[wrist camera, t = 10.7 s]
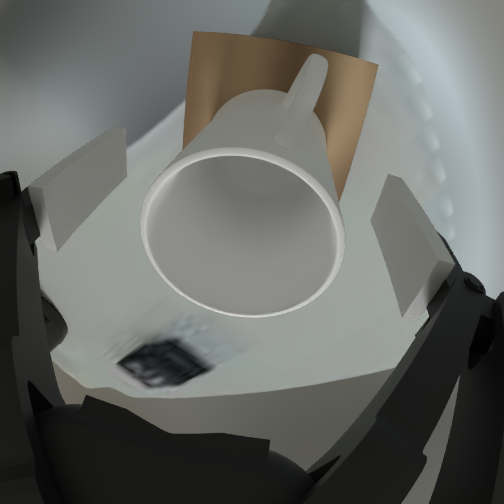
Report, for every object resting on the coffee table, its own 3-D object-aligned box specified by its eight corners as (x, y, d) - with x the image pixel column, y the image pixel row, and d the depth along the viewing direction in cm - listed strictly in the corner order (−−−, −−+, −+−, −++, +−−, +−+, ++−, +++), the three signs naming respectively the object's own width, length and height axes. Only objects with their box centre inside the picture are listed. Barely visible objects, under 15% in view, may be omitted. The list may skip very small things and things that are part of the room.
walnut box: (200, 160, 29) (180, 187, 24) (214, 33, 21) (193, 31, 16) (328, 184, 29) (334, 217, 24) (360, 60, 21) (378, 64, 16)
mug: (263, 27, 16) (224, 3, 6) (375, 94, 17) (455, 155, 8) (190, 166, 23) (117, 270, 13) (286, 217, 24) (276, 343, 15)
